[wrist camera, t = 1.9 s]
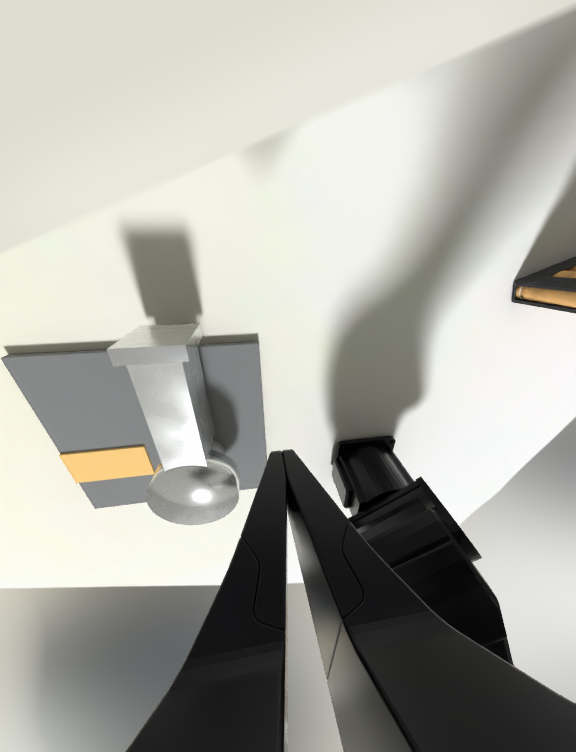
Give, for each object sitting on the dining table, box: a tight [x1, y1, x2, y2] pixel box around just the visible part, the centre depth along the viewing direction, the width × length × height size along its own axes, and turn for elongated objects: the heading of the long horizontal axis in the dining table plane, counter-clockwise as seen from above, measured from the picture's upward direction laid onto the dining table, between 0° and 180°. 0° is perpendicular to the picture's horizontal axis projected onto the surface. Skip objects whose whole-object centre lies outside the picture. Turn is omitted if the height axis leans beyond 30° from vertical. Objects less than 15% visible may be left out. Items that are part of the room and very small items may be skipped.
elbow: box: [107, 323, 240, 525], centre depth 19 cm, size 16×7×4 cm, turn 0°
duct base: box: [1, 341, 267, 509], centre depth 21 cm, size 18×17×3 cm
